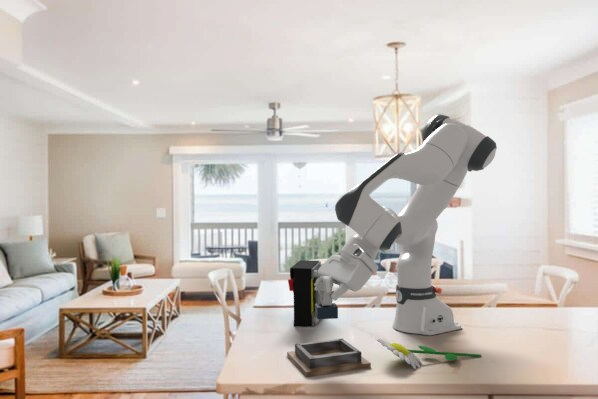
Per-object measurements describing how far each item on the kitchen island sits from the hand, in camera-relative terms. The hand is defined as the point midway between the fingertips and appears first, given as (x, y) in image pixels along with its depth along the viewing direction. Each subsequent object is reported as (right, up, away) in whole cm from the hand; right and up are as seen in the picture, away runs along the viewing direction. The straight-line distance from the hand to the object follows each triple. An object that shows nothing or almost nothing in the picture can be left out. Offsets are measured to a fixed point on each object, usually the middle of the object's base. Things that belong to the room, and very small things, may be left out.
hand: (324, 295), depth 132 cm
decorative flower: (+29, -18, +1) cm, 34 cm away
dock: (+1, -18, +1) cm, 18 cm away
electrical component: (-4, -17, +42) cm, 46 cm away
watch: (0, -6, 0) cm, 6 cm away
